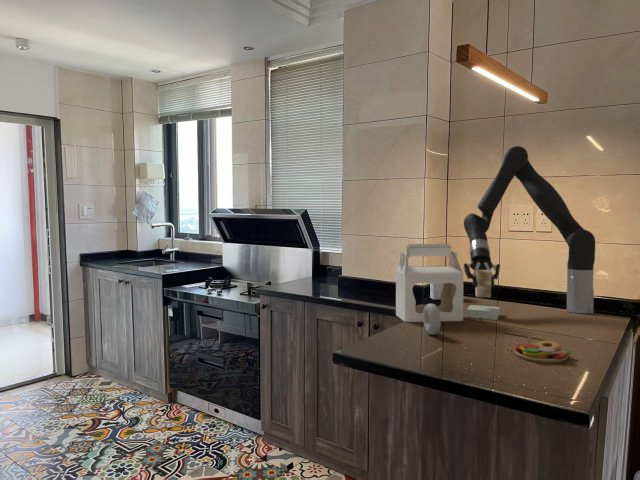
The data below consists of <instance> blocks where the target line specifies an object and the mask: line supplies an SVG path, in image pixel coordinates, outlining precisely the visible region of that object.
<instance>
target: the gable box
mask: <svg viewBox="0 0 640 480" xmlns="http://www.w3.org/2000/svg"><path fill="white" fill-rule="evenodd" d="M457 253H458V252H456V251H455V252H454V251H452V246H451V245H450V244H449V243H408V245H407V248H406V251H405V252H400V259H399V264H398V266H397V268H396V270H395V315H396V317H398V318H399V319H401V320H402V321H403V322H404V323H424V322H423V312H424V308H425V306H426V305H427V304H417V305H416V302H417V301H416V298H415V296H414V290H413V287H414V286H415V285H416V284H420V283H423V284H425V283H426V284H429V283H432V284H444V286H443V290H442V292H441V300H440V305H438V306H437V308H438V310H439V313H440V318H441V322H463V321H464V271H463V270H462V268H461V265H460V264H459V261H458V254H457ZM410 257H411V258H413V257H448V258H449V259H448V264H449V265H444V266H443V265H441V266H440V265H439V266H438V265H437V266H435V265H433V266H432V265H431V266H428V265H427V266H426V265H425V266H424V265H423V266H421V265H420V266H417V265H416V266H413V265H411V266H409V259H410Z"/></svg>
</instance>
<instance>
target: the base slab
mask: <svg viewBox="0 0 640 480" xmlns="http://www.w3.org/2000/svg"><path fill="white" fill-rule="evenodd" d="M500 315H501V307H500V306H489V305H488V306H487V305H474V304H470V305H469V306H467V308H466V309H465V318H467V317H471V318H470V319H479V318H482V319H483V320H493V321H494V320H495V321H497V320H498V319H499V317H500ZM482 319H481V320H482Z"/></svg>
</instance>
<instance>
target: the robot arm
mask: <svg viewBox="0 0 640 480" xmlns="http://www.w3.org/2000/svg"><path fill="white" fill-rule="evenodd" d="M515 177H516V179H517V180H518V181H519V182H520V184H522V187H523V188H524V189H525V190H526V192H527V194H528V195H529V197H530V198H531V199H532V201H533V202H534V204H535V205H536V206H537V207H538V209H539V210H540V211H541V213H543V215H544V216H545V217H546V218H547V219H548V220H549V221H550V222H551V223H552V224H553V225H554V226H555V227H556V228H557V230H558V231H559V233H560V234H561V236H562V237H563V239H564V241H565V242H566V245H567V246H568V258H567V259H568V260H567V263H566V265H567V267H566V270H567V271H566V273H567V274H566V311H567V312H569V313H574V314H586V315H587V314H592V315H593V314H594V304H595V303H594V301H595V300H594V299H595V298H594V297H595V296H594V292H595V291H594V266H595V261H596V239H595V236H594V234H593V232H591V231H589V230H587V229H584V227H582V226H581V225H580V223H579V222H578V221H577V220H576V219H575V218H574V216H573V215H572V213H571V211H570V210H569V208H568V205H567V204H566V202H565V201H564V199H563V197H562V196H561V195H560V194H559V192H558V191H557V190H556V188H555V187H554V186H553V185H552V184H551V183H550V182H549V181H548V180H546V179H545V178H544V177H543V176H541V175H540V173H538V172H537V171H536V170H535V168H534V166H533V165H532V163H530V161H529V153H528V151H527V150H526V148H525V147H523V146H519V145H516V146H515V145H514V146H512V147H510V148H509V149H507V151H506V152H505V154H504V155H503V161H502V163H501V166H500V168H499V170H498V172H497V174H496V175H495V177H494V179H493V180H492V181H491V184H490V185H489V186H488V188H487V189H486V191H485V192H484V194H483V195H482V198H481V199H480V201H479V203H478V204H477V208H478V209H479V211H480V212H481V216H480V215H478V214H476V213H472V212H471V213H469V214H467V215H465V218H464V219H463V228H464V230H465V233H466V234H467V237H468V239H469V255H470V256H469V257H470V263H464V264H463V272H464V273H465V276H466V278H467V279H468V280H469V279H471V280H472V285H473V286H474V288H475V287H477V277H476V270H490V271H491V289H493V288H494V286H495V280H498V279H499V273H500V270H501V269H500V268H501V265H500V264H499V263H498V264H493V262H492V260H491V259H492V258H491V252H490V247H489V243H488V242H489V241H488V237H487V232H488V230H489V229H490V226H491V222H492V219H493V216H494V212H495V211H496V208H497V207H498V205H499V204H500V202H501V201H502V199H503V197H504V195H505V193H506V192H507V191H506V190H507V189H508V187H509V185H510V183H511V182H512V180H513V179H514V178H515ZM470 268H471V270H473V273H471V270H470ZM492 269H493V271H494V273H493V271H492Z"/></svg>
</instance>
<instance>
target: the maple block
mask: <svg viewBox="0 0 640 480" xmlns="http://www.w3.org/2000/svg"><path fill="white" fill-rule="evenodd" d="M491 271H492V270H491ZM491 271H490V270H476V277H477V287H475V286H474V289H475V294H474V295H475V297H476V298H490V299H491V297H492V288H491Z"/></svg>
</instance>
